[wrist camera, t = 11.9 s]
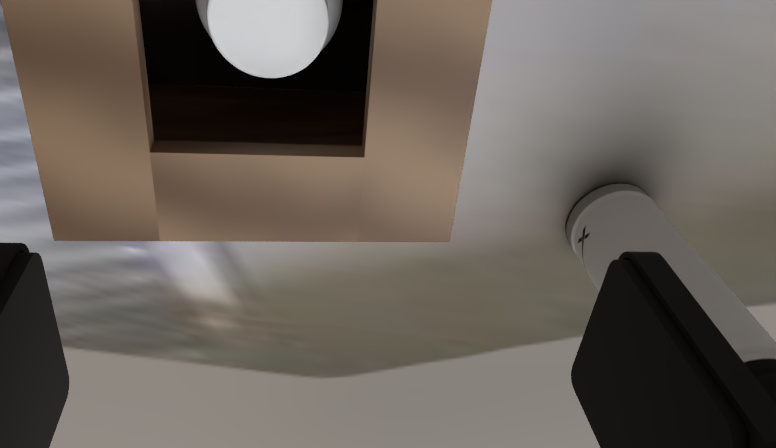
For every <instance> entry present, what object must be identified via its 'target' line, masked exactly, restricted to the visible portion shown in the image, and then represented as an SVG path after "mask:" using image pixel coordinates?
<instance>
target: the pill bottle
mask: <svg viewBox="0 0 776 448" xmlns="http://www.w3.org/2000/svg"><path fill="white" fill-rule="evenodd" d="M342 5H343V0H196V6H197V10H198V13H199V16H200V19H201V21H202V24H203V26H204V28H205V29H206V31H207V33H208V34H209V36H210V37H211V38H212V40H213V42H214V44H215V46H216V47H217V49H218V50H219V52H220V53H221V54H222V55H223V57H224V58H225V59H226V60H227V61H228V62H230V63H231V64H232V65H233V66H235V67H236V68H238V69H239V70H241V71H243V72H245V73H248V74H250V75H253V76H257V77H262V78H280V77H286V76H289V75H292V74H295V73H297V72H299V71H301V70H302V69H304V68H306V67H307V66H308V65H309V64H310V63H311V62H312V61H313V60H314V59H315V58H316V57H317V56H318V54H319V53H320V52H321V51H322V50H323V49H324V47H325V46H326V45H327V44H328V43H329V41H330V40H331V38H332V37H333V35H334V33H335V31H336V29H337V26H338V23H339V20H340V16H341V11H342Z"/></svg>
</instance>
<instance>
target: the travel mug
mask: <svg viewBox="0 0 776 448" xmlns="http://www.w3.org/2000/svg"><path fill="white" fill-rule="evenodd" d="M566 234H567V239H568V241H569V244H570V246H571V247H572V249H573V250H574V252H575V254H576V255H577V257H578V259H579V260H580V262H581V264H582V265H583V267H584V268H585V270H586V272H587V273H588V275H589V277H590V278H591V280H592V282H593V283H594V285H595V286H596V288H597V290H598V291H600V288H601V286H602V283H603V280H604V277H605V275H606V272H607V269H608V266H609V264H610V263H611V262H612V261H613V260H615V259H618V258H619V256H620V255H621V254H622V253H623V252H626V251H634V252H657V253H659V254H661V255H662V256H663V258H664V259H665V260H666V261H667V263H668V264H669V265H670V267H671V268H672V269H673V271H674V272H675V273H676V275H677V276H678V277H679V278H680V280H681V281H682V282H683V284H684V285H685V286H686V288H687V289H688V290H689V291H690V293H691V294H692V295H693V297H694V298H695V299H696V301H697V302H698V303H699V305H700V306H701V307H702V308H703V310H704V311H705V312H706V314H707V315H708V316H709V318H710V319H711V320H712V322H713V323H714V324H715V325H716V327H717V328H718V329H719V331H720V332H721V333H722V335H723V336H724V337H725V338H726V340H727V341H728V342H729V344H730V345H731V346H732V348H733V349H734V350H735V352H736V353H737V354H738V355H739V357H740V358H741V359H742V361H743V362H744V363H745V365H746V366H747V367H748V368H749V370H750V371H751V372H752V374H753V375H754V376H755V378H756V379H757V380H758V382H759V383H760V384H761V385H762V387H763V388H764V389H765V391H766V392H767V393H768V395H769V396H770V397H771V399H772V400H773V401H774V402H775V404H776V342H775V340H774V339H773V338H772V337H771V336H770V335H769V334H768V332H767V331H766V330H765V329H764V328H763V327H762V326H761V325H760V323H759V322H758V321H757V320H756V319H755V317H754V316H753V315H752V314H751V313H750V312H749V311H748V309H747V308H746V307H745V306H744V305H743V304H742V303H741V301H740V300H739V299H738V298H737V297H736V296H735V295H734V293H733V292H732V291H731V290H730V289H729V288H728V287H727V285H726V284H725V283H724V282H723V281H722V280H721V278H720V277H719V276H718V275H717V274H716V273H715V272H714V270H713V269H712V268H711V267H710V266H709V265H708V264H707V262H706V261H705V260H704V259H703V258H702V257H701V256H700V254H699V253H698V252H697V251H696V250H695V249H694V248H693V246H692V245H691V244H690V243H689V242H688V241H687V239H686V238H685V237H684V236H683V235H682V234H681V233H680V231H679V230H678V229H677V228H676V227H675V226H674V225H673V223H672V222H671V221H670V220H669V219H668V218H667V217H666V215H665V214H664V213H663V212H662V211H661V210H660V208H659V207H658V206H657V205H656V204H655V203H654V202H653V200H652V199H651V198H650V197H649V196H648V195H647V194H646V193H645V192H644V191H643V190H642V189H640V188H638V187H636V186H634V185H630V184H611V185H607V186H604V187H601V188H598V189H596V190H594V191H592V192H591V193H589V194H588V195H586V196H585V197H584V198H583V199H582V200H581V201H579V202H578V204H577V205H576V206H575V207H574V209H573V211H572V212H571V214H570V216H569V219H568V222H567V227H566Z"/></svg>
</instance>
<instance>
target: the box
mask: <svg viewBox="0 0 776 448" xmlns="http://www.w3.org/2000/svg"><path fill="white" fill-rule="evenodd" d="M1 4H2V8H3V13H4V17H5V22H6V26H7V31H8V35H9V40H10V44H11V49H12V53H13V58H14V62H15V67H16V71H17V76H18V80H19V85H20V89H21V94H22V98H23V103H24V107H25V112H26V116H27V121H28V125H29V130H30V134H31V139H32V143H33V148H34V152H35V157H36V161H37V166H38V170H39V175H40V179H41V184H42V188H43V193H44V197H45V202H46V206H47V211H48V215H49V220H50V224H51V229H52V234H53V238H54V241H291V242H450V237H451V231H452V226H453V220H454V214H455V209H456V203H457V197H458V192H459V186H460V180H461V174H462V169H463V163H464V157H465V152H466V146H467V140H468V135H469V129H470V123H471V118H472V112H473V106H474V101H475V95H476V89H477V84H478V78H479V72H480V67H481V61H482V55H483V50H484V44H485V38H486V33H487V27H488V21H489V15H490V10H491V4H492V0H374V2H373V15H372V27H371V40H370V52H369V64H368V77H367V89H366V92H350V91H325V90H300V89H275V88H249V87H224V86H199V85H173V84H148V80H147V71H146V62H145V52H144V43H143V34H142V25H141V16H140V7H139V0H1Z"/></svg>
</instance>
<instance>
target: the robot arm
mask: <svg viewBox="0 0 776 448" xmlns="http://www.w3.org/2000/svg"><path fill="white" fill-rule="evenodd" d="M571 379H572V385H573V388H574V390H575V393H576V395H577V397H578V399H579V401H580V404H581V406H582V408H583V410H584V412H585V415H586V416H587V419H588V421H589V423H590V425H591V428H592V430H593V432H594V434H595V436H596V439H597V441H598V443H599V445H600V447H601V448H776V404H775V402H774V401H773V400H772V399H771V397H770V396H769V395H768V393H767V392H766V391H765V389H764V388H763V387H762V385H761V384H760V383H759V382H758V380H757V379H756V378H755V376H754V375H753V374H752V372H751V371H750V370H749V368H748V367H747V366H746V365H745V363H744V362H743V361H742V359H741V358H740V357H739V355H738V354H737V353H736V352H735V350H734V349H733V348H732V346H731V345H730V344H729V342H728V341H727V340H726V338H725V337H724V336H723V335H722V333H721V332H720V331H719V329H718V328H717V327H716V325H715V324H714V323H713V322H712V320H711V319H710V318H709V316H708V315H707V314H706V312H705V311H704V310H703V308H702V307H701V306H700V305H699V303H698V302H697V301H696V299H695V298H694V297H693V295H692V294H691V293H690V291H689V290H688V289H687V288H686V286H685V285H684V284H683V282H682V281H681V280H680V278H679V277H678V276H677V275H676V273H675V272H674V271H673V269H672V268H671V267H670V265H669V264H668V263H667V261H666V260H665V259H664V258H663V256H662V255H661V254H659V253H657V252H634V251H626V252H623V253H622V254H621V255H620V256H619V258H618V259H615V260H613V261H612V262H611V263H610V264H609V266H608V269H607V272H606V275H605V277H604V280H603V283H602V286H601V288H600V291H599V294H598V297H597V300H596V302H595V305H594V308H593V311H592V313H591V316H590V319H589V322H588V325H587V327H586V330H585V333H584V336H583V339H582V342H581V344H580V347H579V350H578V352H577V355H576V358H575V361H574V364H573V366H572V371H571ZM68 390H69V375H68V370H67V366H66V361H65V358H64V353H63V348H62V344H61V340H60V335H59V331H58V327H57V323H56V318H55V314H54V310H53V305H52V301H51V297H50V292H49V288H48V284H47V279H46V275H45V271H44V266H43V262H42V259H41V256H40V255H39V254H38V253H29V250H28V248H27V246H26V245H25V244H23V243H0V448H49V446H50V443H51V441H52V438H53V435H54V432H55V430H56V427H57V424H58V421H59V419H60V416H61V413H62V410H63V407H64V405H65V402H66V399H67V395H68Z"/></svg>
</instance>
